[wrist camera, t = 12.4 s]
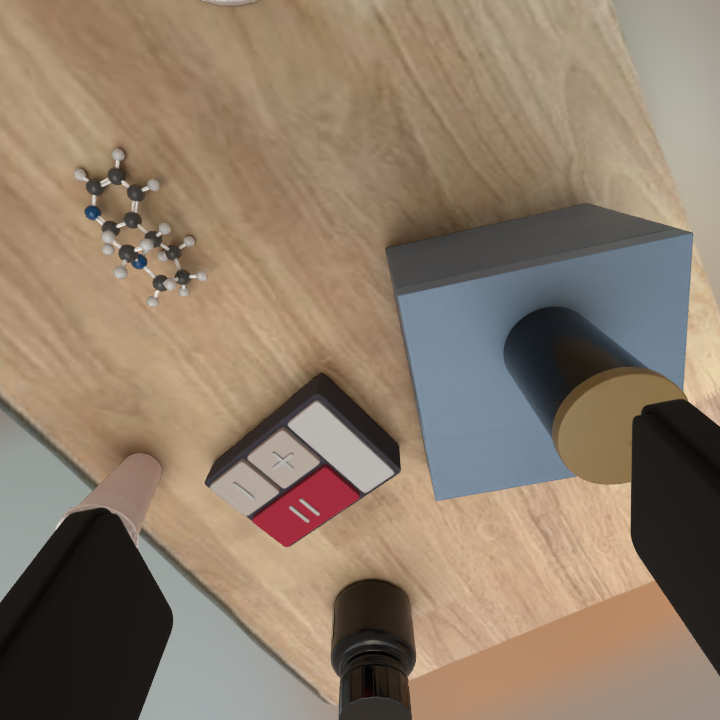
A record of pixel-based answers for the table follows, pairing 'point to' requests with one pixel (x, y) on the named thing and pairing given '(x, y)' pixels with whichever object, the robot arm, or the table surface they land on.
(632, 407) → the dark jar with lid
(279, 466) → the calculator
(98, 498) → the smoothie
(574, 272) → the blue-grey angular block
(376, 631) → the ink bottle
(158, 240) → the molecule model
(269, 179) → the table surface
